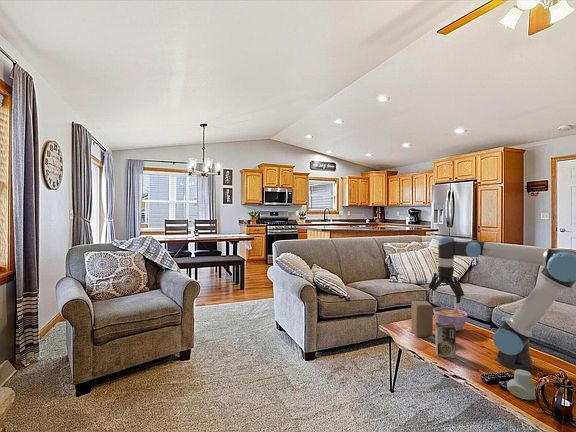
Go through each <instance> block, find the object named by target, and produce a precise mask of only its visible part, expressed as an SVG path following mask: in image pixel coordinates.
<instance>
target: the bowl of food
mask: <svg viewBox="0 0 576 432" xmlns="http://www.w3.org/2000/svg"><path fill="white" fill-rule="evenodd" d="M433 316H434V318H435V323H446V324H453V325H454V326H455V328H456V332H457V331H460V330H462V329H463V328H464V327H465V324H466V321H467V318H468V313H467V312H466V310H465V311H464V310H462V309H460V308H459V309H454V307H448V306H446V307H445V306H441V307H440V306H439V307H435V308H433Z"/></svg>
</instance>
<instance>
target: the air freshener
mask: <svg viewBox="0 0 576 432" xmlns="http://www.w3.org/2000/svg"><path fill="white" fill-rule="evenodd" d="M513 376H514V377H513V378H511V379H509V381H507V383H506V388H507V390H508V391H509V392H510V393H511V394H512V395H514V396H515V397H516V398H517V399H520V398H521V399H520V400H523V399H525V401H533V400H536V399H537V398H536V396H535V388H536V387H537V386H536V385H535V384H534V383H532V382H533V377H532V376H533V375H532V374H531V372H530V371H525V370H520V369H517V370H515V369H514V375H513Z"/></svg>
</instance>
